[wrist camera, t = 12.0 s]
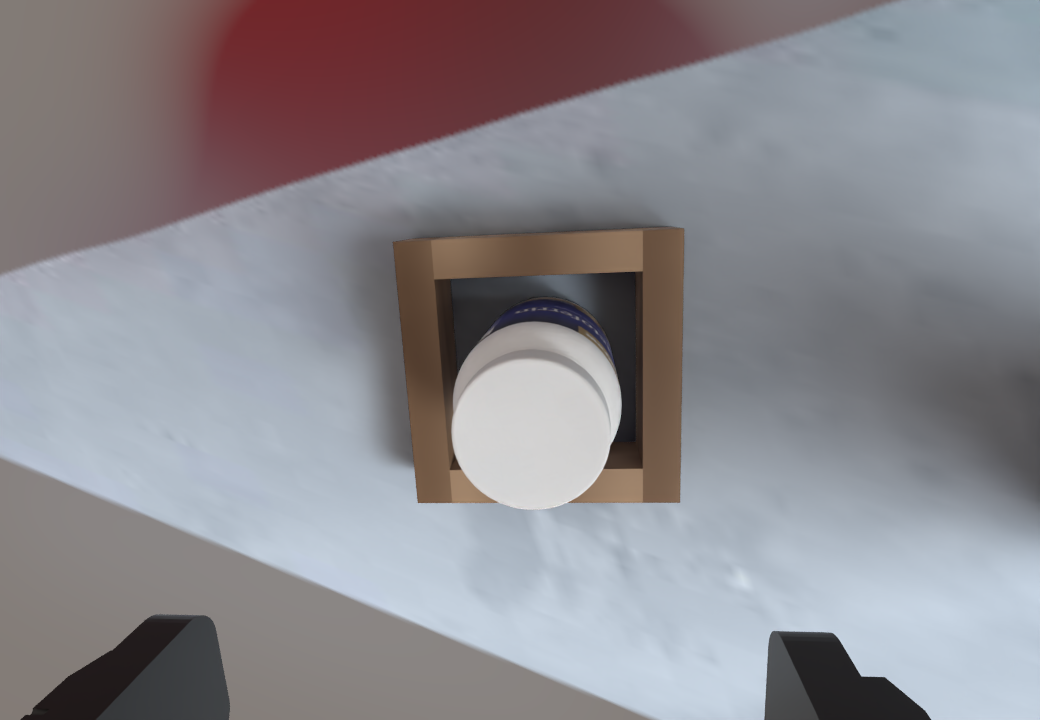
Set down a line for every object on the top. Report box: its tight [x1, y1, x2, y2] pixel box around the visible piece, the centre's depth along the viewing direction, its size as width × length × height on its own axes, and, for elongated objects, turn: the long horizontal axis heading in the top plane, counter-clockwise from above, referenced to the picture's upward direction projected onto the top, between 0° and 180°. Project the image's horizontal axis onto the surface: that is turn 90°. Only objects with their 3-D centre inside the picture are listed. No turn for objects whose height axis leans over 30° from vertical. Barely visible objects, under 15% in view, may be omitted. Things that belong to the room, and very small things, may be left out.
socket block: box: [393, 227, 684, 503], centre depth 26 cm, size 11×11×3 cm
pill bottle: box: [451, 297, 622, 510], centre depth 22 cm, size 6×6×10 cm
